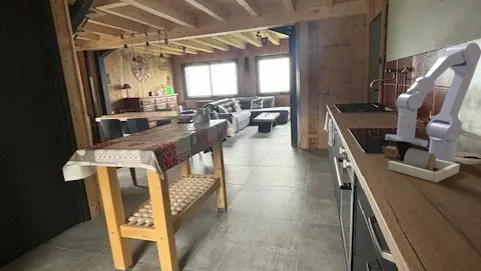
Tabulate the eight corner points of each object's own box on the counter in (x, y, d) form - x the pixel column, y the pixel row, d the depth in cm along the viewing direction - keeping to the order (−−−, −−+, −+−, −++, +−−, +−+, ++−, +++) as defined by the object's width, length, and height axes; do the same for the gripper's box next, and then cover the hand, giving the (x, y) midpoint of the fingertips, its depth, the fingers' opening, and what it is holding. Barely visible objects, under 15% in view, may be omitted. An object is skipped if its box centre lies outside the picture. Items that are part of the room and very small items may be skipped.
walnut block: (387, 154, 115) (388, 145, 115) (397, 156, 113) (398, 147, 112) (384, 156, 113) (385, 147, 112) (394, 158, 110) (395, 149, 109)
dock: (411, 161, 105) (411, 154, 105) (458, 172, 92) (459, 164, 91) (388, 169, 98) (388, 161, 97) (436, 182, 85) (437, 173, 84)
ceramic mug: (428, 175, 90) (431, 154, 88) (402, 169, 96) (404, 149, 95) (438, 168, 97) (440, 148, 95) (412, 163, 103) (415, 144, 101)
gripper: (381, 124, 102) (378, 158, 105) (421, 130, 89) (417, 168, 92) (392, 122, 105) (389, 155, 108) (432, 127, 93) (428, 164, 96)
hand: (403, 160), depth 100 cm, fingers closed
